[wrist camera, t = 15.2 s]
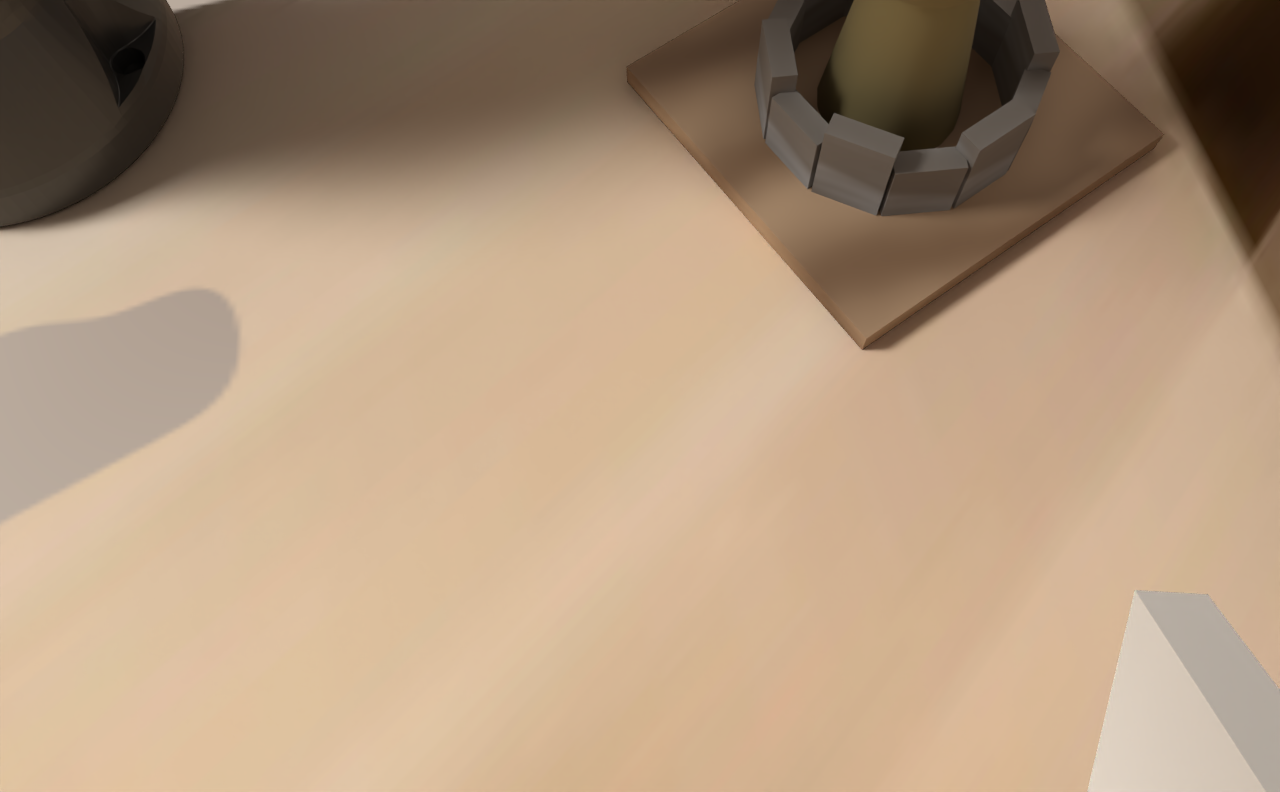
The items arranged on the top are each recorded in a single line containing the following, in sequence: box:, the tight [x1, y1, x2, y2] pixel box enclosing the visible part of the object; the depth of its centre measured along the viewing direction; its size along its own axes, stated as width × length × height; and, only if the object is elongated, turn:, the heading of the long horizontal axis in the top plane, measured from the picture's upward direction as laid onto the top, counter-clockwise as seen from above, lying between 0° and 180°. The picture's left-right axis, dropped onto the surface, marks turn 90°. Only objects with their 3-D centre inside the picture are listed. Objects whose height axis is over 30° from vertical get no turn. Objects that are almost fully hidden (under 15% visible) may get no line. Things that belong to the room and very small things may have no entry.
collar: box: [627, 0, 1164, 349], centre depth 46 cm, size 16×16×5 cm
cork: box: [817, 0, 980, 151], centre depth 42 cm, size 6×6×11 cm
